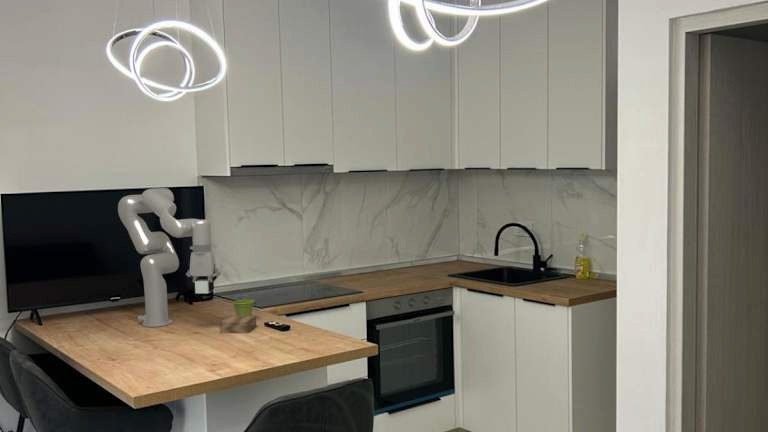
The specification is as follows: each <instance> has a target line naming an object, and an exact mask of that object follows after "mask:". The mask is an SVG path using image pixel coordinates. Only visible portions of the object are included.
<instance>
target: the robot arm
mask: <svg viewBox="0 0 768 432" xmlns="http://www.w3.org/2000/svg"><path fill="white" fill-rule="evenodd" d="M174 201H175V196H174V194H173V191H171V190H170V189H169V188H166V187H158V188H154V187H153V188H148V189H146V190H144V191H143V192H142V194H129V195H126V196H123V197H122V198H121V199H120V200H119V201H118V204H117V213H118V216H119V218H120V221H121V222H122V224H123V226H124V227H125V228H126V230H127V232H128V234H129V237H130V239H131V241H132V244H133V245H134V248H135V249H136V251H137V252H138V254H140V255H146V256H144V257H143V258H142V259H141V260H140V270H141V274H142V279H143V288H144V289H143V290H144V291H143V292H144V305H145V306H144V307H145V308H144V310H145V314H144V315H138V316H137V320H138V321H143V322H142V327H146V328H157V327H158V328H159V327H164V326H169V325H171V324H172V323H173V320H172V319H169V307H168V306H169V304H168V293H167V292H168V290H167V289H168V287H167V283H166V280H165V278H164V277H163V275H166V274H171V273H174V272H176V271H178V269H179V266H180V261H179V257H178V255H177V252H176V250H175V248H174V246H173V244H172V241H171V240H170V237H169V236H168V235H167V234H166V233H168V234H169V235H170V236H172V237H173V238H179V239H180V238H186V237H192V245H191V246H189V249H190V250H192V252H190V253H191V254H190V261H189V269H188V270H187V272H186V273H185V275H186V276H187V277H188V278H189V279H190V280H191V281H192V283H193V290H194V291H195V281H198V280H199V277H207V279H208V280H209V281H210V282H209V292H210V293H212V292H213V291H214V290H215V284H214V283H215V281H216V280H217V278H218V277H220V276H221V274H222V273H221V272H220V270H219V269H218V268H217V265H216V259H215V255H214V254H215V253H214V252H213V251H212V231H211V227H212V226H211V225H212V224H211V221H210V220H208V219H199V218H184V219H183V218H182V219H176V217H174V216H175V214H176V211H177V206H176V203H174ZM147 213H154V214H155V215H156V216H157V217H159V223H160V226H161V228H162V229H163V230H164V231H165V232H166V233H165V232H163V231H151V230H150V229H149V227H148V225H147V223H146V221H144V219H143V218H141V216H139V215H138V214H147Z"/></svg>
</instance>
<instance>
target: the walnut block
mask: <svg viewBox="0 0 768 432" xmlns="http://www.w3.org/2000/svg"><path fill="white" fill-rule="evenodd" d="M218 327H219V334H248V333H250V332H251V330H252V331H253V330H255V329H256V328H257V316H255V315H252V316H239V317H237V316H228V317H226V318H224V319H222V320H221V321H219V326H218Z"/></svg>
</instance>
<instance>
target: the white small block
mask: <svg viewBox="0 0 768 432" xmlns="http://www.w3.org/2000/svg"><path fill="white" fill-rule="evenodd" d="M209 282H210V281H209V279H198V281H195V290H194V292H195V293H194V294H209V293H211V292H209Z"/></svg>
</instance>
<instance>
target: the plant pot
mask: <svg viewBox="0 0 768 432" xmlns="http://www.w3.org/2000/svg"><path fill="white" fill-rule="evenodd" d="M254 303H255V300H254V299H239V300H235V301H232V304H233V307H234V309H235V314H236V317H239V316H253V315H252V314H253V306H254Z"/></svg>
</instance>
